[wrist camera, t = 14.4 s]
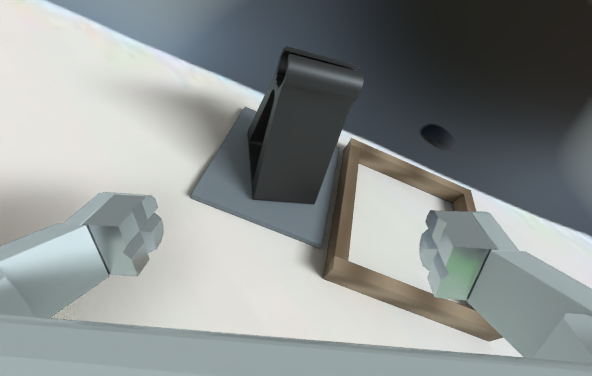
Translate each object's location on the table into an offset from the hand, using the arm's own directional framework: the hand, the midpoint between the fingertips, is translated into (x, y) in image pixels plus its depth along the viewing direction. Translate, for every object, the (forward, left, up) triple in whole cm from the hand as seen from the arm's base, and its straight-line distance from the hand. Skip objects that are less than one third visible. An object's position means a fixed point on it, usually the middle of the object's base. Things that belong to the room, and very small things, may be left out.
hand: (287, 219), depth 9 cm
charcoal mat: (0, +17, -15) cm, 22 cm away
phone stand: (0, +17, -15) cm, 22 cm away
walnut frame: (+15, +16, -15) cm, 26 cm away
